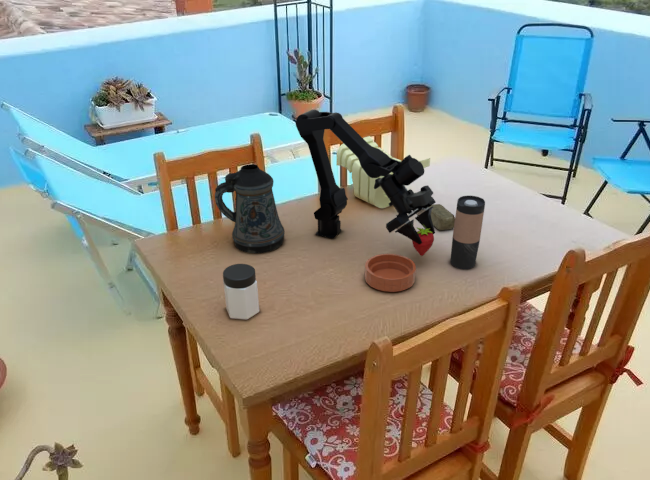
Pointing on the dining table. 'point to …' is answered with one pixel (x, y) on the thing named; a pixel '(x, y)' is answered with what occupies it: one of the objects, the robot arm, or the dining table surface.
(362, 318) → the dining table surface
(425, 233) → the strawberry
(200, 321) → the dining table surface
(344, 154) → the slatted curved stool
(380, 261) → the pot
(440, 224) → the stone block
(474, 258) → the travel mug
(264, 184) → the beer stein
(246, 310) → the jar
